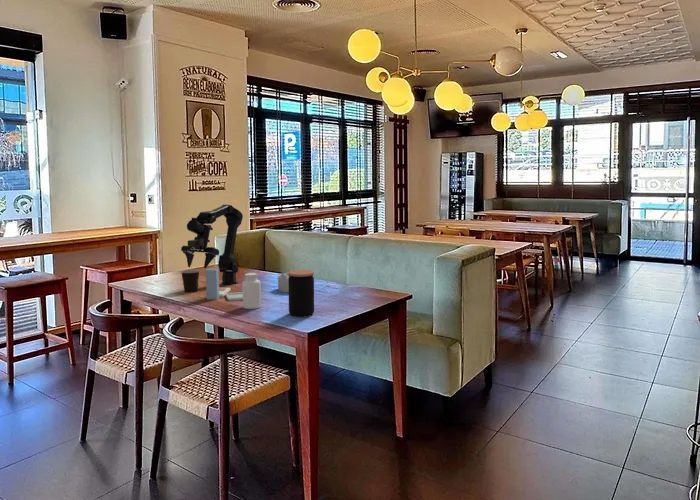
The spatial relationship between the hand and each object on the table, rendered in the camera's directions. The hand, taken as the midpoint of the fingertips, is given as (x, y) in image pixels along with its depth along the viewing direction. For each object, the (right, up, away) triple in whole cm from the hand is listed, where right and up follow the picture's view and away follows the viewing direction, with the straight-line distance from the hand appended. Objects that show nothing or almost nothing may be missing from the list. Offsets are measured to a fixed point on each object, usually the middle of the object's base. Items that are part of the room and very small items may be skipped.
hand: (196, 267), depth 270 cm
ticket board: (+10, -13, +4) cm, 16 cm away
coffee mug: (-5, -12, +10) cm, 17 cm away
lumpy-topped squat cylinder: (+44, -12, +12) cm, 47 cm away
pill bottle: (+31, -17, -24) cm, 43 cm away
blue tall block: (+10, -14, -7) cm, 19 cm away
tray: (+22, -14, -5) cm, 26 cm away
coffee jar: (+54, -19, -36) cm, 67 cm away
